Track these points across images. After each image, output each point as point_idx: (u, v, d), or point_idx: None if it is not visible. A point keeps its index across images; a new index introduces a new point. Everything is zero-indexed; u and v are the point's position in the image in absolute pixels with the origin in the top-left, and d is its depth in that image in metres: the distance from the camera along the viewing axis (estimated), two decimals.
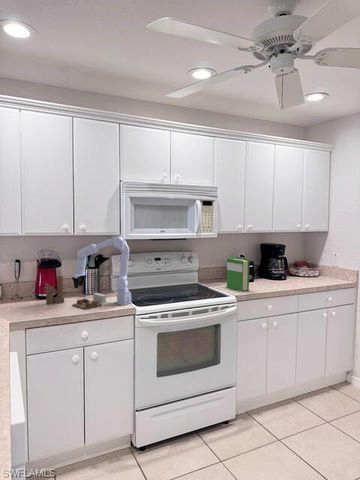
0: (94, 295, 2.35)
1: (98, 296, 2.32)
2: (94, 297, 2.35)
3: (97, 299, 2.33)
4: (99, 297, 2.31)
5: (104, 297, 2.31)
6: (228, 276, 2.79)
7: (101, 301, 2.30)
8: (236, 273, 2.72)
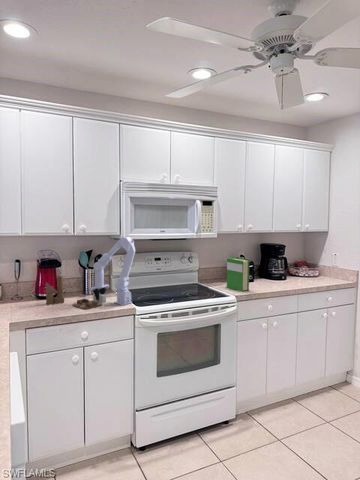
0: (94, 295, 2.35)
1: None
2: (94, 297, 2.35)
3: None
4: (99, 296, 2.31)
5: (104, 297, 2.31)
6: (228, 276, 2.79)
7: (101, 301, 2.30)
8: (236, 273, 2.72)
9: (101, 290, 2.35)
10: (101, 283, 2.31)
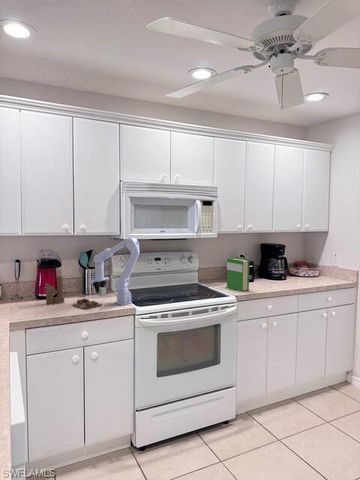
0: (94, 288, 2.35)
1: None
2: (94, 290, 2.35)
3: None
4: (99, 289, 2.31)
5: (104, 290, 2.30)
6: (228, 276, 2.79)
7: (101, 294, 2.30)
8: (236, 273, 2.72)
9: (101, 283, 2.34)
10: (101, 276, 2.31)
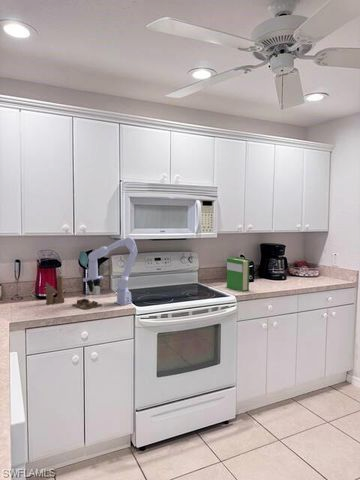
0: (88, 287, 2.29)
1: None
2: (88, 289, 2.29)
3: None
4: (93, 288, 2.25)
5: (98, 289, 2.25)
6: (228, 276, 2.79)
7: (95, 293, 2.24)
8: (236, 273, 2.72)
9: (95, 281, 2.29)
10: (95, 274, 2.25)
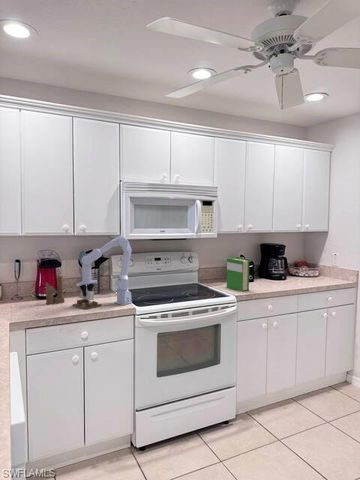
0: (81, 292, 2.23)
1: None
2: (81, 294, 2.23)
3: None
4: (87, 293, 2.20)
5: (92, 294, 2.19)
6: (228, 276, 2.79)
7: (88, 298, 2.19)
8: (236, 273, 2.72)
9: (89, 286, 2.23)
10: (88, 278, 2.19)
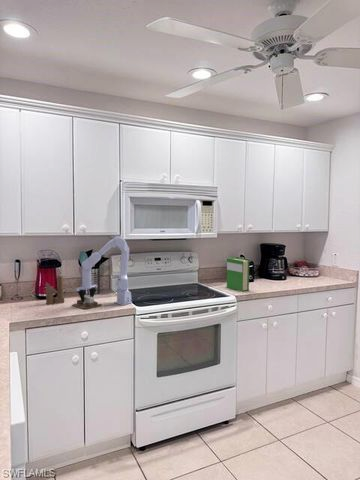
0: None
1: (85, 298, 2.21)
2: None
3: (84, 302, 2.22)
4: (87, 299, 2.20)
5: (92, 299, 2.19)
6: (228, 276, 2.79)
7: None
8: (236, 273, 2.72)
9: (91, 290, 2.25)
10: (88, 283, 2.20)
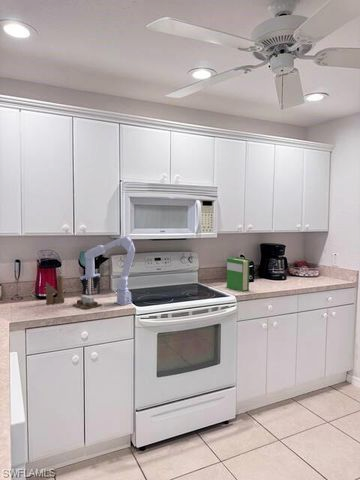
0: (81, 297, 2.24)
1: (85, 298, 2.21)
2: (81, 299, 2.24)
3: (84, 302, 2.22)
4: (87, 299, 2.20)
5: (92, 299, 2.19)
6: (228, 276, 2.79)
7: None
8: (236, 273, 2.72)
9: (94, 279, 2.32)
10: (92, 272, 2.27)
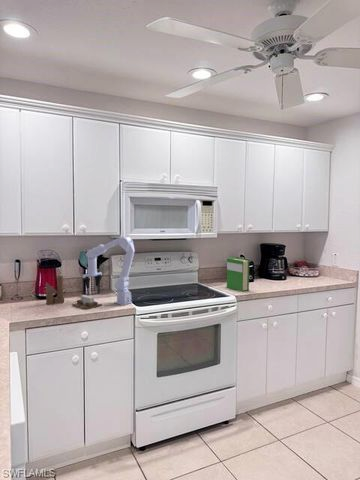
0: (81, 297, 2.24)
1: (85, 298, 2.21)
2: (81, 299, 2.24)
3: (84, 302, 2.22)
4: (87, 299, 2.20)
5: (92, 299, 2.19)
6: (228, 276, 2.79)
7: None
8: (236, 273, 2.72)
9: (96, 277, 2.37)
10: (94, 271, 2.32)
